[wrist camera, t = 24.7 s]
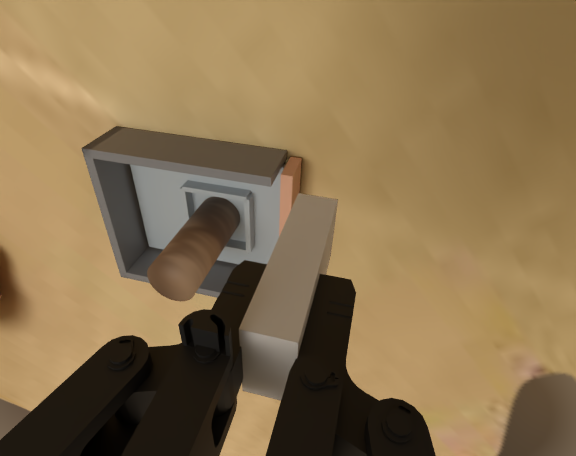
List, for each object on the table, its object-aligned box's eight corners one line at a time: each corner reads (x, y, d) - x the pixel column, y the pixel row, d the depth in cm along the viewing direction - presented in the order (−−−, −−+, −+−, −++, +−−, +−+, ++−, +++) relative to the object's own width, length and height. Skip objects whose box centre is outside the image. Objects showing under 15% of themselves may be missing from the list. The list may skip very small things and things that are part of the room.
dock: (286, 150, 41) (270, 177, 36) (282, 275, 52) (269, 308, 47) (116, 126, 44) (81, 148, 40) (145, 248, 55) (121, 276, 50)
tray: (301, 158, 41) (292, 176, 38) (294, 276, 51) (287, 298, 48) (127, 133, 44) (105, 147, 41) (153, 248, 54) (137, 267, 51)
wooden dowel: (240, 202, 45) (194, 270, 35) (239, 235, 48) (196, 306, 38) (200, 192, 46) (144, 256, 36) (201, 226, 49) (149, 293, 39)
